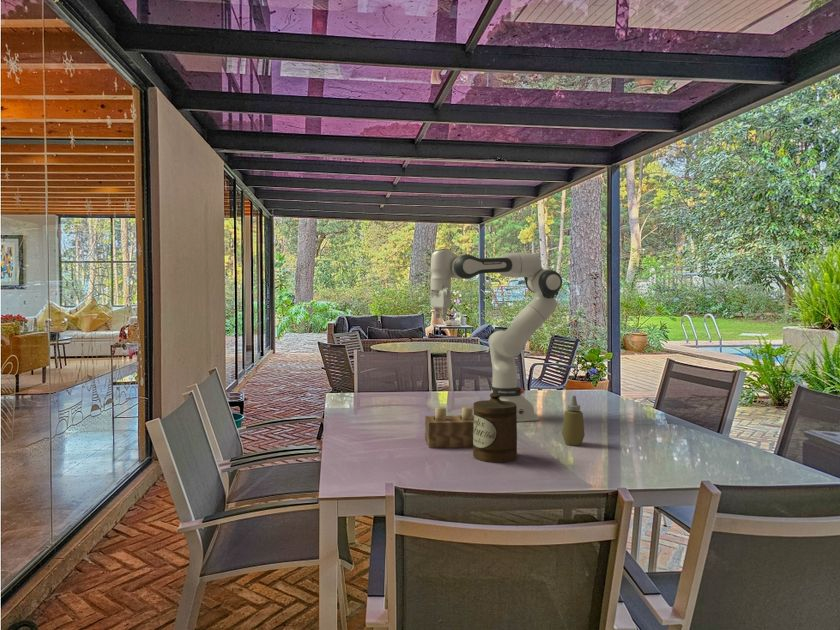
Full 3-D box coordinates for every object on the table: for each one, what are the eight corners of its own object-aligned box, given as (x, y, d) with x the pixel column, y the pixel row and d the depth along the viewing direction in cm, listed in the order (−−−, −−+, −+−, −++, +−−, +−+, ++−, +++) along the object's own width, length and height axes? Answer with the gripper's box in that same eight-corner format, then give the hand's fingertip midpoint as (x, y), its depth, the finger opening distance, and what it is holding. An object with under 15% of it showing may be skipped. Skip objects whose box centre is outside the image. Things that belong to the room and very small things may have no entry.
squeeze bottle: (572, 447, 209) (573, 398, 209) (557, 442, 216) (558, 394, 216) (589, 445, 213) (590, 396, 212) (573, 440, 220) (574, 393, 220)
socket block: (476, 438, 222) (477, 415, 222) (483, 446, 210) (483, 421, 210) (425, 439, 220) (425, 415, 220) (429, 447, 208) (429, 422, 208)
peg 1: (445, 428, 216) (445, 407, 216) (446, 431, 212) (446, 409, 212) (434, 428, 216) (434, 407, 216) (435, 431, 212) (436, 409, 212)
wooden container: (465, 453, 201) (465, 390, 200) (502, 449, 207) (502, 387, 206) (486, 464, 188) (487, 397, 187) (525, 460, 193) (526, 394, 193)
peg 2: (471, 428, 218) (471, 406, 217) (473, 430, 214) (473, 408, 213) (460, 428, 217) (461, 407, 217) (462, 430, 213) (463, 409, 213)
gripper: (455, 286, 240) (454, 319, 241) (441, 286, 260) (441, 317, 261) (440, 285, 239) (440, 319, 239) (427, 286, 259) (427, 317, 259)
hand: (440, 318), depth 250 cm, fingers open, 8 cm apart
